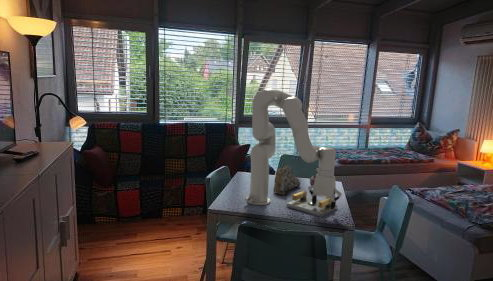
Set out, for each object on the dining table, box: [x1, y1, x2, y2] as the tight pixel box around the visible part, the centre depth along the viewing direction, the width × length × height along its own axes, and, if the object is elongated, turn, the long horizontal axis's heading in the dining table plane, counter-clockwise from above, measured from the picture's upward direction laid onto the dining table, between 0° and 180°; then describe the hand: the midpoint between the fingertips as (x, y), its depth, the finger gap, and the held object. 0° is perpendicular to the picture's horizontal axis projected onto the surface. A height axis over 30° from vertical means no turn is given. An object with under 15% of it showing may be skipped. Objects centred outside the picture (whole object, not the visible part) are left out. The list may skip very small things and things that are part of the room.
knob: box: [318, 197, 332, 208], centre depth 169 cm, size 11×4×4 cm, turn 140°
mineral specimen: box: [309, 174, 316, 186], centre depth 204 cm, size 10×10×10 cm
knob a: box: [291, 190, 308, 201], centre depth 178 cm, size 11×4×4 cm, turn 140°
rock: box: [273, 164, 301, 196], centre depth 201 cm, size 27×10×15 cm, turn 147°
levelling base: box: [286, 196, 338, 218], centre depth 173 cm, size 17×20×3 cm
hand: (323, 206), depth 165 cm, fingers open, 9 cm apart
